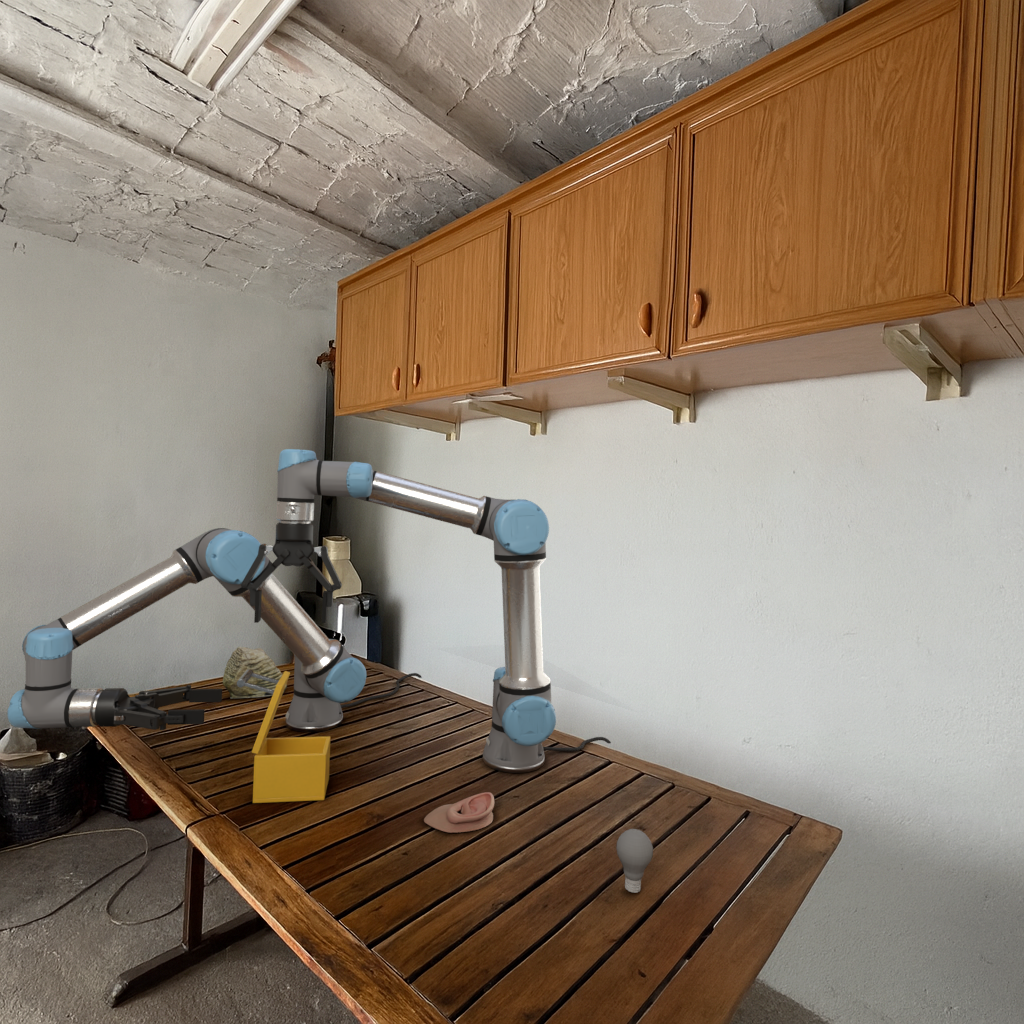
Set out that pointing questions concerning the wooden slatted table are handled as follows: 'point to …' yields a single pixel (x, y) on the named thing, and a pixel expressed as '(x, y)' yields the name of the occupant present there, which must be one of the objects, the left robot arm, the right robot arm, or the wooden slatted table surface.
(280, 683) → the lid
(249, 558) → the left robot arm
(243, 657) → the fossil
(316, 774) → the chest
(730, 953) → the wooden slatted table surface
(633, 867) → the light bulb
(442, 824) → the anatomical model
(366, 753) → the wooden slatted table surface
